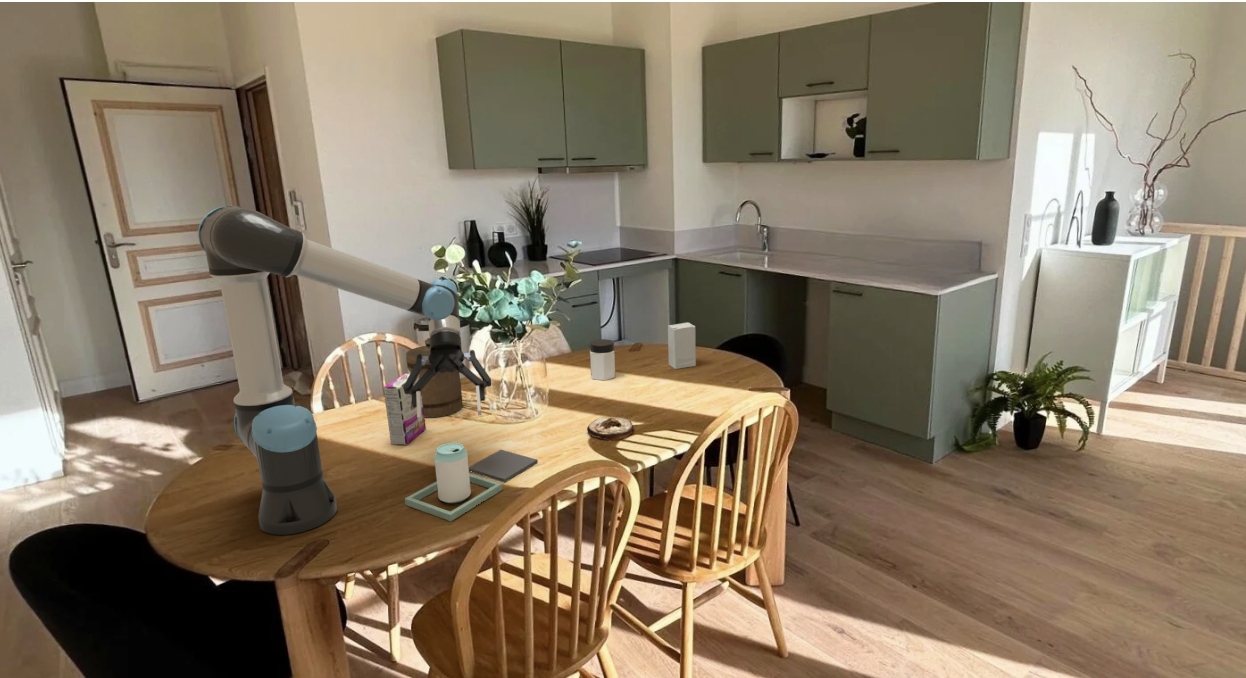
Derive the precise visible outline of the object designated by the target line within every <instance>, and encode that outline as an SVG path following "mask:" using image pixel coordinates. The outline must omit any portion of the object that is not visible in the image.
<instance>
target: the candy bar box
mask: <svg viewBox="0 0 1246 678" xmlns="http://www.w3.org/2000/svg"><path fill="white" fill-rule="evenodd" d="M409 375H410V374H408V373H403V374H402V375H401V374H400V376H399V377H396V378H395V379H394V380H392V381H391V382H389V383H388V384H386V385H384V386H383V387H382V389H383V395H384V404H385V409H386V416H387V424H388V431H389V438H390V444H391V445H397V446H408V445H409V444H410V443H411V442H412V441H414V440H415V439H416V438H418V436H419V435H421V434H422V433H423V432H424V431H425V430H427V427H426V419H425V418H426V417H424V410H423V402H422V394H421V391H420V395H421V412H422V421H420V422H418V418H417V407H415V408H413V406H412V395H411V394H405V393H404V389H403V386H404V385H405V383H406V381H407V379H408V377H409ZM419 379H420V378H419V375H418V377H417V379H416V381H415V383H414V385H415V384H416V383H417V381H418V380H419ZM414 385H413V386H414Z"/></svg>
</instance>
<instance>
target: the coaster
mask: <svg viewBox="0 0 1246 678" xmlns="http://www.w3.org/2000/svg"><path fill="white" fill-rule="evenodd" d="M537 462H538V459H537V458H534V457H529V456H526V455H522V454H518V453H515V452H512V451H511V452H510V451H507V450H504V449H499V450H497V451H495V452H494V453H492V454H490V455H488V456H486V457H485V458H483V459H481V460H479V461H476V463H473V464H472V465H470V466H468V467H469V472H470V471H472V472H471V473H473V472H474V473H473V474H476V473H477V474H476V475H479V474H480V476H483V475H484V476H483V477H486V476H487V477H486V478H490V479H493V480H496V481H500V482H502V483H506V482H508V481H509V480H511V479H513V478H514V477H516V476H517V475H519V474H521V473H523V472H524V471H526V470H528V469H529V467H530V468H531V467H533V466H534V464H535V465H536V464H537ZM538 463H539V462H538Z"/></svg>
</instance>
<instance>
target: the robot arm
mask: <svg viewBox="0 0 1246 678" xmlns="http://www.w3.org/2000/svg"><path fill="white" fill-rule="evenodd" d="M197 234H198V235H197V236H198V237H197V238H198V241H199V244H200V247H202V249H203V251H204V252H205V256H206V262H207V267H208V271H209V276H210V277H211V278H213V279H214V280H216V281H218V282H219V285H220V289H221V290H220V291H221V296H222V299H223V300H222V301H223V306H224V312H225V319H226V323H227V328H228V329H227V330H228V334H229V340H230V344H231V351H232V356H233V361H234V365H235V371H236V372H235V373H236V376H237V377H236V378H237V382H238V387H239V392H238V393H237V394H236V395H235V396H234V397H233V405H234V410H235V414H234V417H233V425H234V426H233V427H234V430H235V434H236V436H237V437H238V439H239V440H240V441H241V443H242V444H244V445H245V446H246V447H247V449H248V450H249V451H250V452H251V453H252V454H253V455H254V457H255V458H256V459H257V464H258V469H259V476H260V481H261V486H262V493H261V499H260V502H259V503H260V505H259V510H258V515H257V516H258V517H257V518H258V524H259V528H260V530H262V532H265V533H267V534H270V535H276V536H279V535H281V536H283V535H284V536H285V535H293V534H299V533H302V532H303V533H304V532H306V531H307V532H308V531H309V530H312V529H315V528H318V527H320V526H321V525H324V524H325V523H326V522H329V520H331V519H333V517H334V516H335V514H336V512H337V509H338V504H337V499H336V497H335V495H334V493H333V491H332V490H331V488H330V486H329V485H328V483H327V481H326V479H325V477H324V471H323V467H322V460H321V453H320V446H319V445H320V444H319V441H318V433H317V431H318V426H317V423H316V421H315V417H314V414H313V413H312V412H311V411H310V410H309V409H308V408H306V407H304V406H300V405H296V404H295V399H294V394H293V389H292V388H291V387H290V386H288V385H286V384H285V383H284V378H283V373H282V368H281V366H282V365H281V361H280V354H279V348H278V344H277V343H278V341H277V337H276V332H275V329H276V328H275V326H274V325H275V323H274V318H273V312H272V305H271V300H270V295H269V288H268V283H267V278H268V276H269V275H270V274H274V275H277V276H281V277H283V278H289V277H292V276H294V275H295V276H297V277H301V278H303V279H307V280H309V281H313V282H315V283H320V284H322V285H326V286H328V287H331V288H335V289H338V290H341V291H344V292H348V293H350V294H354V295H357V296H360V297H364V298H367V299H369V300H373V301H376V302H379V303H383V304H386V305H389V306H391V307H395V308H398V309H401V310H405V311H406V312H410V313H413V314H417V315H419V316H422V317H425V318H427V319H428V334H429V337H428V338H430V355H429V356H422V355H421V354H418V355H417V359H416V364H415V366H414V367H413V369H412V371H411V373H410V375H409V377H408V379H407V381H406V383H405V385H404V386H403V389H404V393H405V394H411V395H412V406H413V408H415V407H417V418H418V422H420V421H422V412H421V395H420V391H421V390H422V389H423V388H424V386H425V385H426V384H427V383H428V382H429V381H430V379H431V378H432V377H433V376H435V375H436V374H437V372H441V373H445V372H454V371H455V370H457V371H459V374H462V375H463V376H464V377H465V378H466V379H467V380H469V381H470V382H471V383H472V384H473V385H475V392H476V393H475V394H476V405H477V414H478V416H482V406H481V405H482V404H481V402H485V400H486V395H485V392H486V391H485V389H486V388H488V387H491V386H492V379H491V377H490V376H489V374H488V373H487V371H486V370H485V368H484V367H483V365H482V364H481V363H480V361H479V360H478V358H477V356H476V352H475V350H474V349H471V350H470V351H469V352H463V349H462V337H461V322H460V310H459V309H460V308H459V307H460V305H459V303H460V302H459V301H460V300H459V299H460V298H459V295H458V294H459V293H458V289H457V286H456V284H455V283H454V282H452V281H451V280H449V279H440V278H438V279H435V280H432V281H431V282H430V283H429V282H426V281H425V280H422V279H421V280H420V279H418V278H415V277H413V276H410V275H408V274H405V273H402V272H399V271H396V270H394V269H390V268H387V267H385V266H382V265H380V264H377V263H374V262H371V261H370V260H369V261H368V260H365V259H363V258H360V257H357V256H355V255H351V254H350V253H349V254H348V253H346V252H343V251H340V250H338V249H335V248H333V247H331V246H330V247H329V246H326V245H324V244H321V243H318V242H316V241H313V240H310V239H307V238H306V235H305V234H304V232H302V231H300V230H297V229H295V228H292V227H290V226H287V225H285V224H283V223H281V222H279V221H277V220H275V219H273V218H272V217H269V216H267V215H265V214H263V213H261V212H260V211H257V210H255V209H250V208H245V207H242V206H240V205H227V206H225V205H224V206H220V207H217V208H215V209H213V210H211V211H209V212H208V213H206V214H205V216H204V217H203V218H202V219H201V221H200V223H199V226H198V231H197ZM465 359H466V360H467V362H469V363H471V365H472V366H473V368H474V369H475V370H476V371H475V372H477V373H478V376H477V375H476V374H475V373H474V372H473V371H472V370H471V369H469V368H468V367H467V366H466V365H465V364H464V362H463V361H464V360H465ZM426 362H429V363H430V364H431V365H430V366H429V369H428V370H427V371H426V372H425V373H424V375H423V376H422V377H421V378H420V379H419V380H418V381H417V383H416V384H415V385H414V383H415V381H416V379H417V377H418V375H419V373H420V372H421V369H422V366H424V365H425V364H426ZM413 385H414V386H413Z"/></svg>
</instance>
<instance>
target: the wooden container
mask: <svg viewBox="0 0 1246 678" xmlns="http://www.w3.org/2000/svg"><path fill="white" fill-rule="evenodd" d="M424 344H425V345H422V346H418V347H415V348H412V349H409V350H408V351H407V352H406V353H405V358H406V364H407V365H406V366H407V367H406V368H407V374H410V373H411V371H412V369H413V367H414V366H415V364H416V359H417V355H418V354H421V355H422V356H429V355H430V337H428V338H426V340H424ZM430 365H431V364H430V363H429V362H426V364H425V365H424V366H422V369H421V372H420V373H419V378H421V377H422V376H423V375H424V373H425V372H426V371H427V370H428V369H429V366H430ZM460 374H461V373H460V372H459V371H457V370H455V371H454V372H445V373H441V372H437V374H436V375H435V376H433V377H432V378H431V379H430V381H429V382H428V383H427V384H426V385H425V386H424V388H423V389H422V390H421V394H422V402H423V410H424V418H428V419H429V418H431V419H432V418H442V417H446V416H449V415H453V414H455V413H457V412H459V411H460V410H461V409H462V408H463V406H464V405H463V403H464V402H463V393H462V383H461V375H460Z"/></svg>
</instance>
